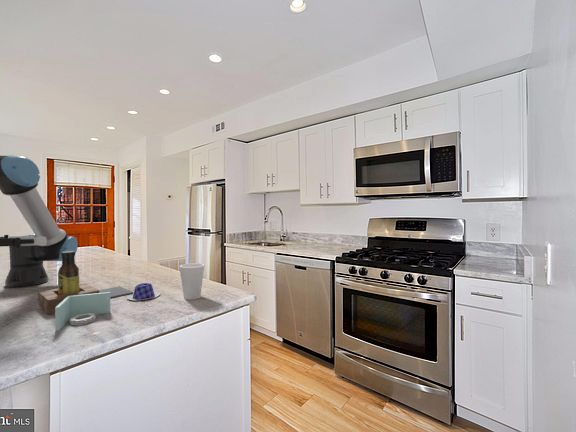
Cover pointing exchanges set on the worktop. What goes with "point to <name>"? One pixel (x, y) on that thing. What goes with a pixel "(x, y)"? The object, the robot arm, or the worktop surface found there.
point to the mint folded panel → (81, 309)
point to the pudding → (143, 292)
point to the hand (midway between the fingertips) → (39, 240)
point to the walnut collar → (60, 297)
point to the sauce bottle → (68, 274)
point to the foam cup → (192, 280)
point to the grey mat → (116, 291)
